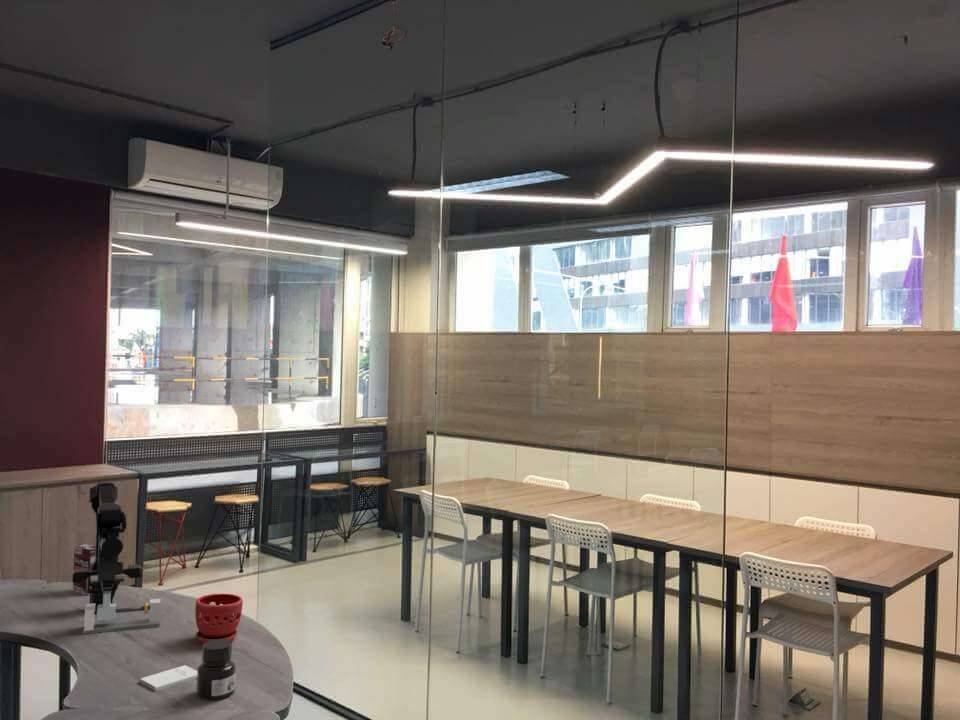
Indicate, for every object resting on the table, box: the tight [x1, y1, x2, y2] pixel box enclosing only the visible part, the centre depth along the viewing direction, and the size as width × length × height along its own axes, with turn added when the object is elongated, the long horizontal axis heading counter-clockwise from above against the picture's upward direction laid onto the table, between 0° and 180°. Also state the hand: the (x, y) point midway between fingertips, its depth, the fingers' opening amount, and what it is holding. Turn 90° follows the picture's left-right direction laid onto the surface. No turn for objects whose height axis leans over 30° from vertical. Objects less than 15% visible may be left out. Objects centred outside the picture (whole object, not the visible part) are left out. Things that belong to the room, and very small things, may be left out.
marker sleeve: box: [96, 591, 117, 621], centre depth 234 cm, size 5×4×8 cm
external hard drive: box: [138, 665, 197, 692], centre depth 198 cm, size 2×8×12 cm
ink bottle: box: [196, 640, 236, 701], centre depth 190 cm, size 10×9×12 cm
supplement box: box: [72, 543, 95, 596], centre depth 270 cm, size 9×5×16 cm, turn 62°
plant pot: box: [194, 593, 244, 644], centre depth 227 cm, size 13×13×12 cm
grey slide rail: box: [82, 598, 161, 635], centre depth 236 cm, size 21×7×7 cm, turn 113°
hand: (106, 601), depth 234 cm, fingers closed on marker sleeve, 2 cm apart
